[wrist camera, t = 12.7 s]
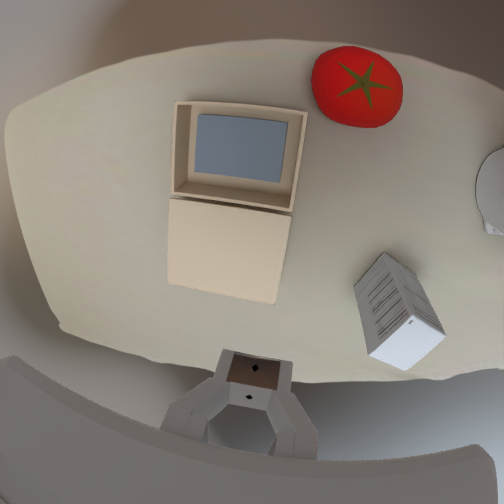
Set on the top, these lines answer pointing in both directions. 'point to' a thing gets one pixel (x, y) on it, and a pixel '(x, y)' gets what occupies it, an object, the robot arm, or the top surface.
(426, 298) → the supplement box
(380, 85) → the tomato
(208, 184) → the box
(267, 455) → the robot arm
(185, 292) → the top surface
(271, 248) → the lid
